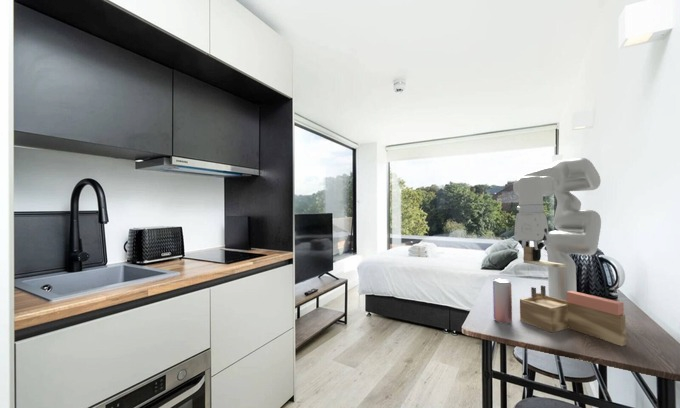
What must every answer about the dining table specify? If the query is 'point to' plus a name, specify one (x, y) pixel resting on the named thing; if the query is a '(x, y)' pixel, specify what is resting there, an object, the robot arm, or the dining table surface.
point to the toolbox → (571, 317)
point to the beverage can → (502, 301)
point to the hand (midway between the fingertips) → (532, 259)
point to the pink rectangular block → (595, 302)
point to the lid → (529, 259)
